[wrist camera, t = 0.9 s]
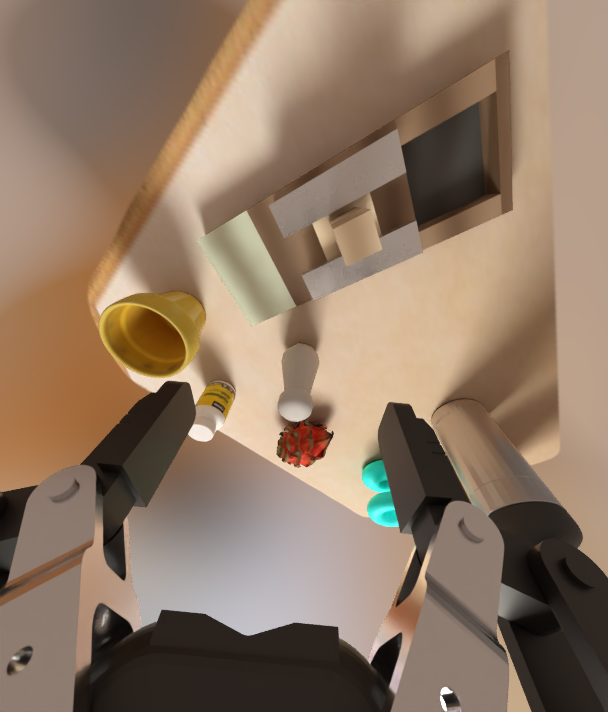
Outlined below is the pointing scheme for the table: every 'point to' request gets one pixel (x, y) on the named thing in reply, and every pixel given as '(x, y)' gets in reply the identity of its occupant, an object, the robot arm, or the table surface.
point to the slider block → (350, 231)
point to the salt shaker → (298, 382)
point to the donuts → (379, 495)
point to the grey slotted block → (338, 191)
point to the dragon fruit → (303, 443)
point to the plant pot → (153, 332)
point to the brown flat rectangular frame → (386, 192)
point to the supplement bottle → (212, 410)
